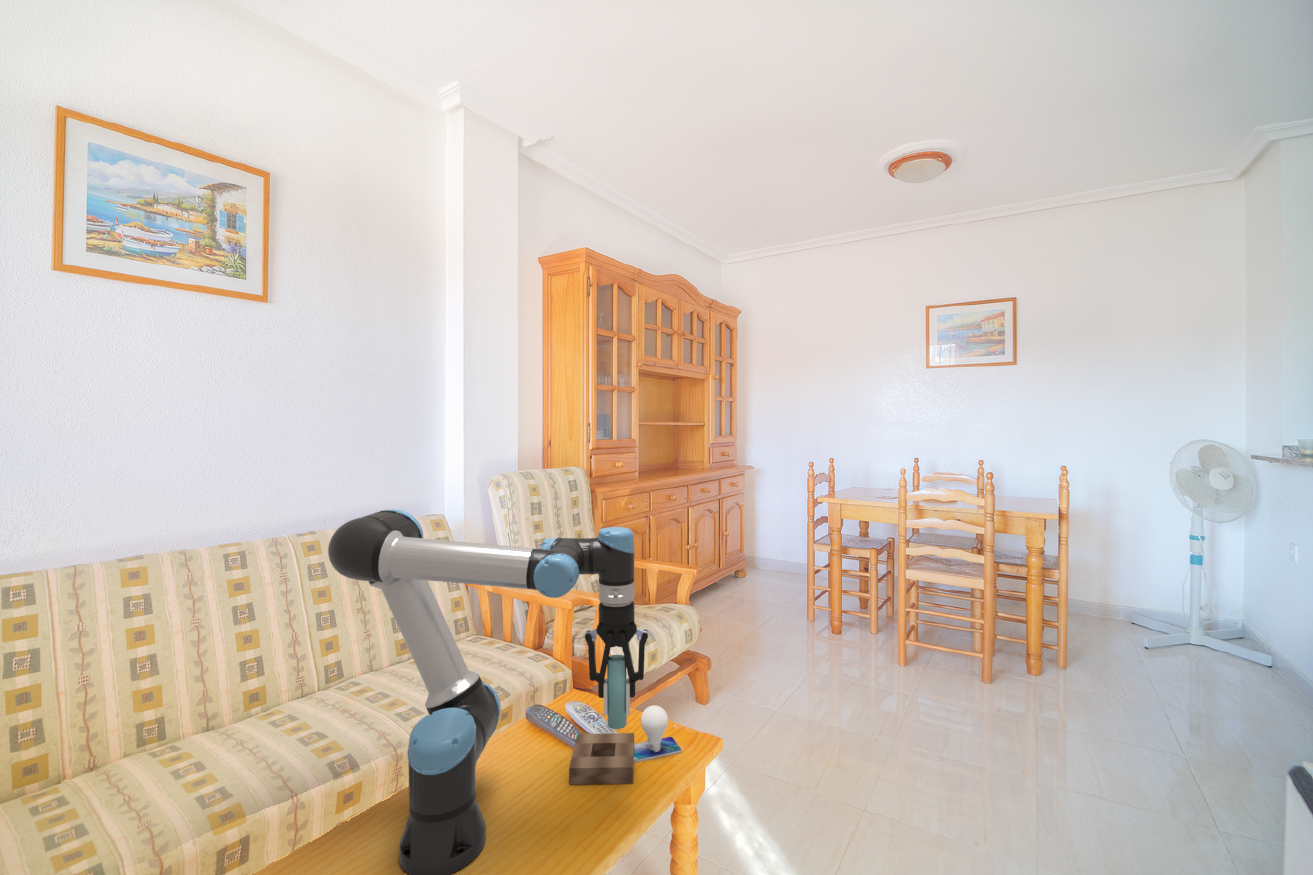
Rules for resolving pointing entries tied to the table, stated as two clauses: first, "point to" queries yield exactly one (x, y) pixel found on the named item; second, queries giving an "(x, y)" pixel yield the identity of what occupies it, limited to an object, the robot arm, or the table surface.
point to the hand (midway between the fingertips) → (617, 711)
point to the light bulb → (654, 726)
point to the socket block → (602, 759)
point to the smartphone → (667, 748)
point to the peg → (616, 691)
